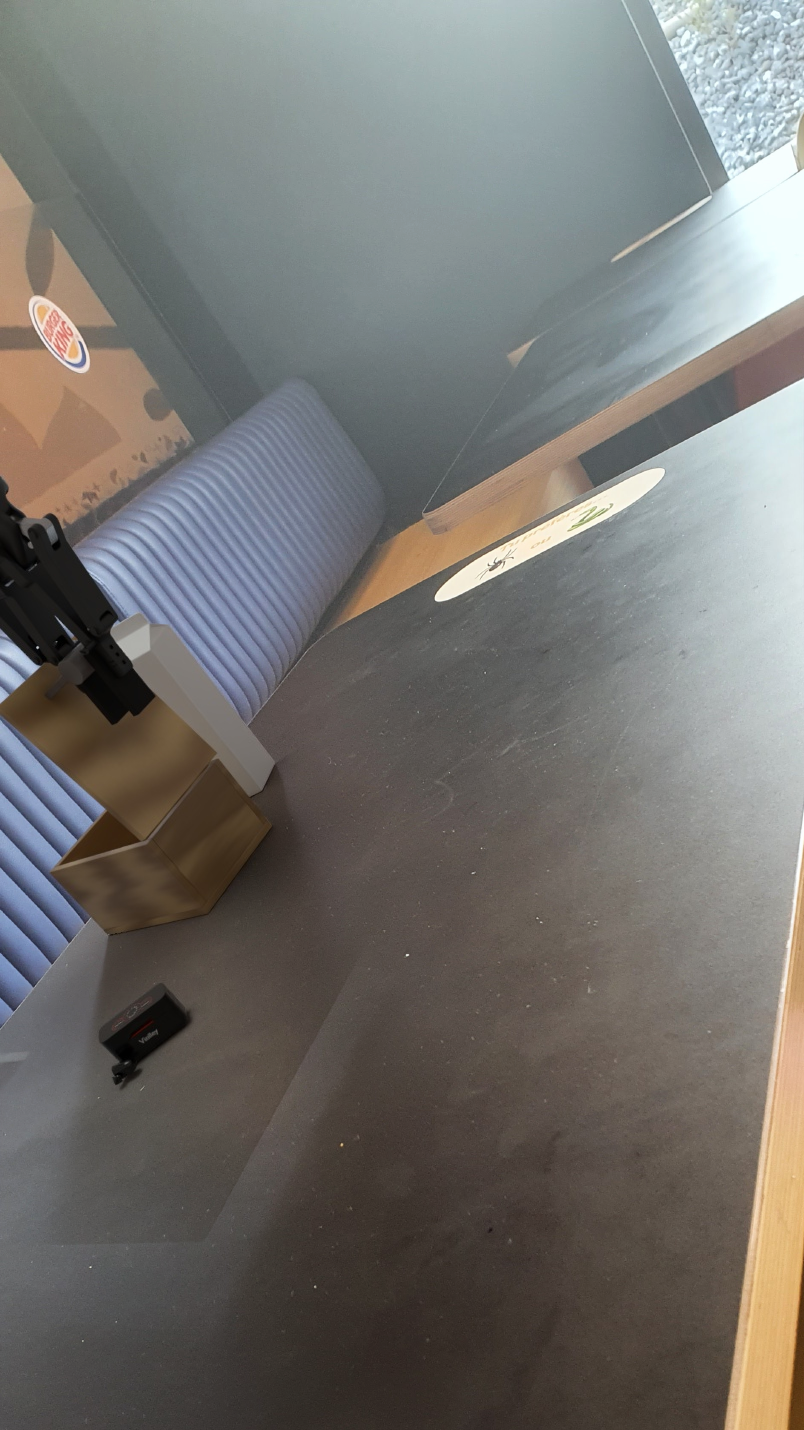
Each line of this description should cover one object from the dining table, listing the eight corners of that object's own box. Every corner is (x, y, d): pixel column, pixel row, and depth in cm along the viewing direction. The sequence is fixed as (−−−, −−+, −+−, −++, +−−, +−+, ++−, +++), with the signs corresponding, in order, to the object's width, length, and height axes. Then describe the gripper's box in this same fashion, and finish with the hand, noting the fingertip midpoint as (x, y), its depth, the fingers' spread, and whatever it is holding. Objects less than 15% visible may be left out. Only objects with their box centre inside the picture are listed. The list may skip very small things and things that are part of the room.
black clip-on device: (116, 1061, 94) (89, 1035, 92) (187, 1007, 94) (162, 980, 93) (120, 1090, 90) (92, 1063, 88) (194, 1033, 90) (168, 1005, 89)
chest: (108, 935, 116) (48, 872, 112) (174, 852, 124) (121, 790, 120) (208, 914, 107) (146, 844, 103) (272, 825, 115) (218, 757, 111)
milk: (262, 791, 124) (129, 623, 114) (219, 812, 127) (84, 649, 116) (276, 762, 129) (150, 598, 119) (234, 782, 132) (106, 623, 121)
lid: (-7, 709, 98) (27, 673, 93) (81, 629, 106) (115, 592, 101) (141, 842, 103) (180, 814, 98) (213, 755, 111) (252, 726, 106)
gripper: (21, 414, 88) (213, 662, 99) (-80, 488, 97) (106, 708, 108) (-43, 457, 83) (166, 714, 94) (-143, 531, 92) (58, 757, 103)
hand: (133, 710), depth 101 cm, fingers closed on lid, 2 cm apart
